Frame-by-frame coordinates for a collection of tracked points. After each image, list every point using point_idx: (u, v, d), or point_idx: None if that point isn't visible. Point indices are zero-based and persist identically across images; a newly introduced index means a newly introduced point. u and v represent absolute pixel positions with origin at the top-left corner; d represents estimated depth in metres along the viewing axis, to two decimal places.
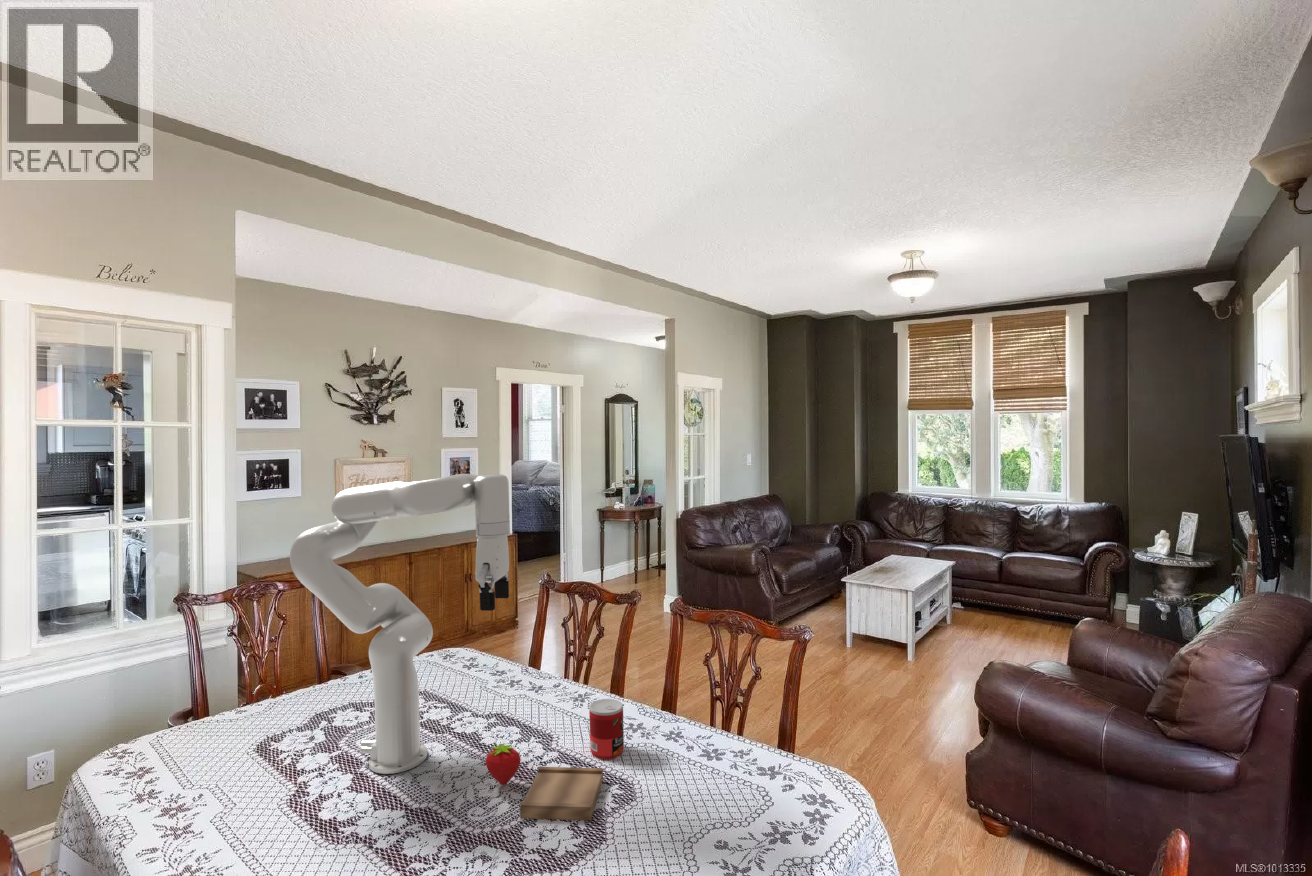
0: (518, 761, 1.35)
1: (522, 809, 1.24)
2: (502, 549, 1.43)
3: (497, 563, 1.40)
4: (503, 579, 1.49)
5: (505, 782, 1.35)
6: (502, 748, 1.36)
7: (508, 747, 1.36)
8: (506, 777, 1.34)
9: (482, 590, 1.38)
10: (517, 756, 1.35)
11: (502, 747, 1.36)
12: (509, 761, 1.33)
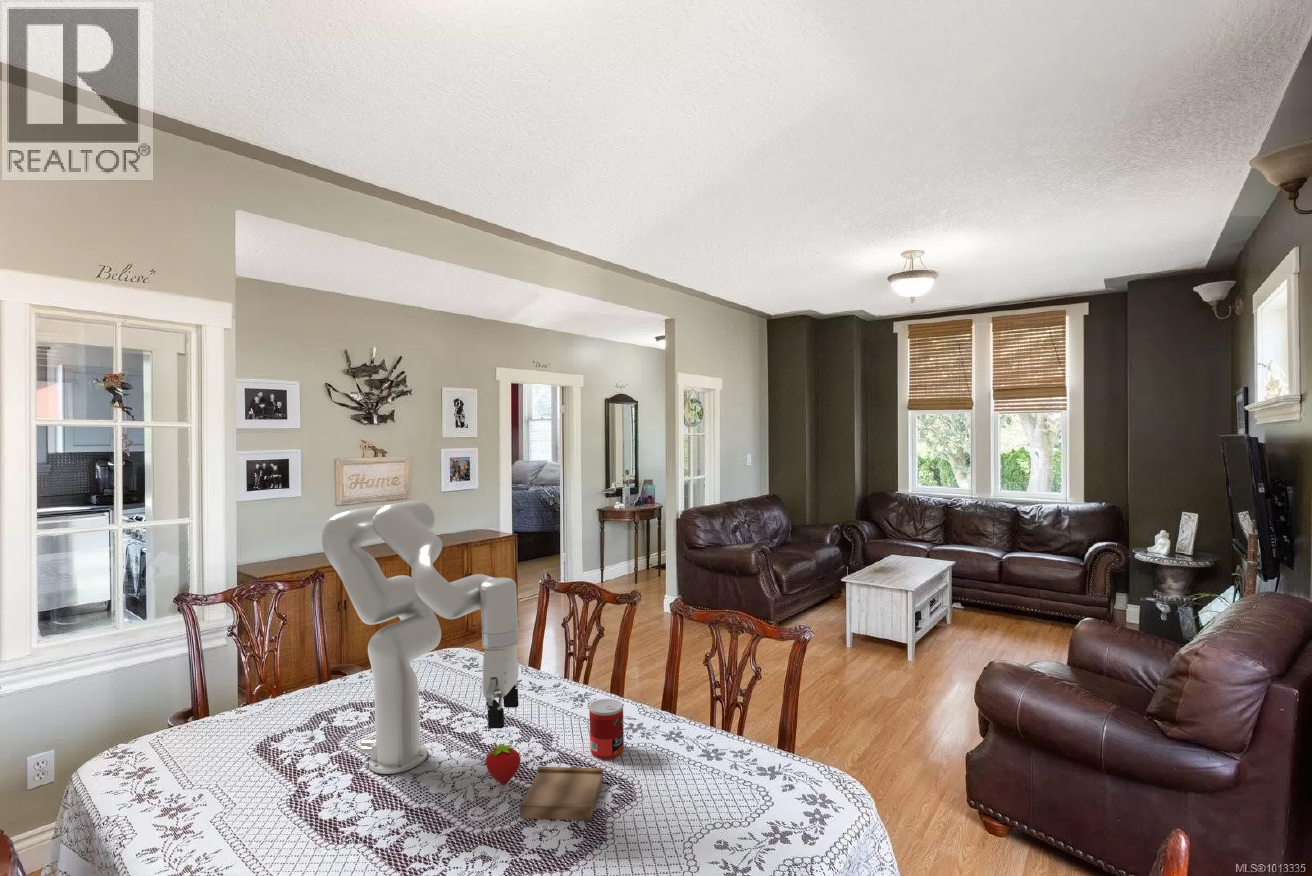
0: (518, 761, 1.35)
1: (522, 809, 1.24)
2: (510, 659, 1.34)
3: (506, 677, 1.31)
4: (512, 687, 1.40)
5: (505, 782, 1.35)
6: (502, 748, 1.36)
7: (508, 747, 1.36)
8: (506, 777, 1.34)
9: (490, 708, 1.29)
10: (517, 756, 1.35)
11: (502, 747, 1.36)
12: (509, 761, 1.33)
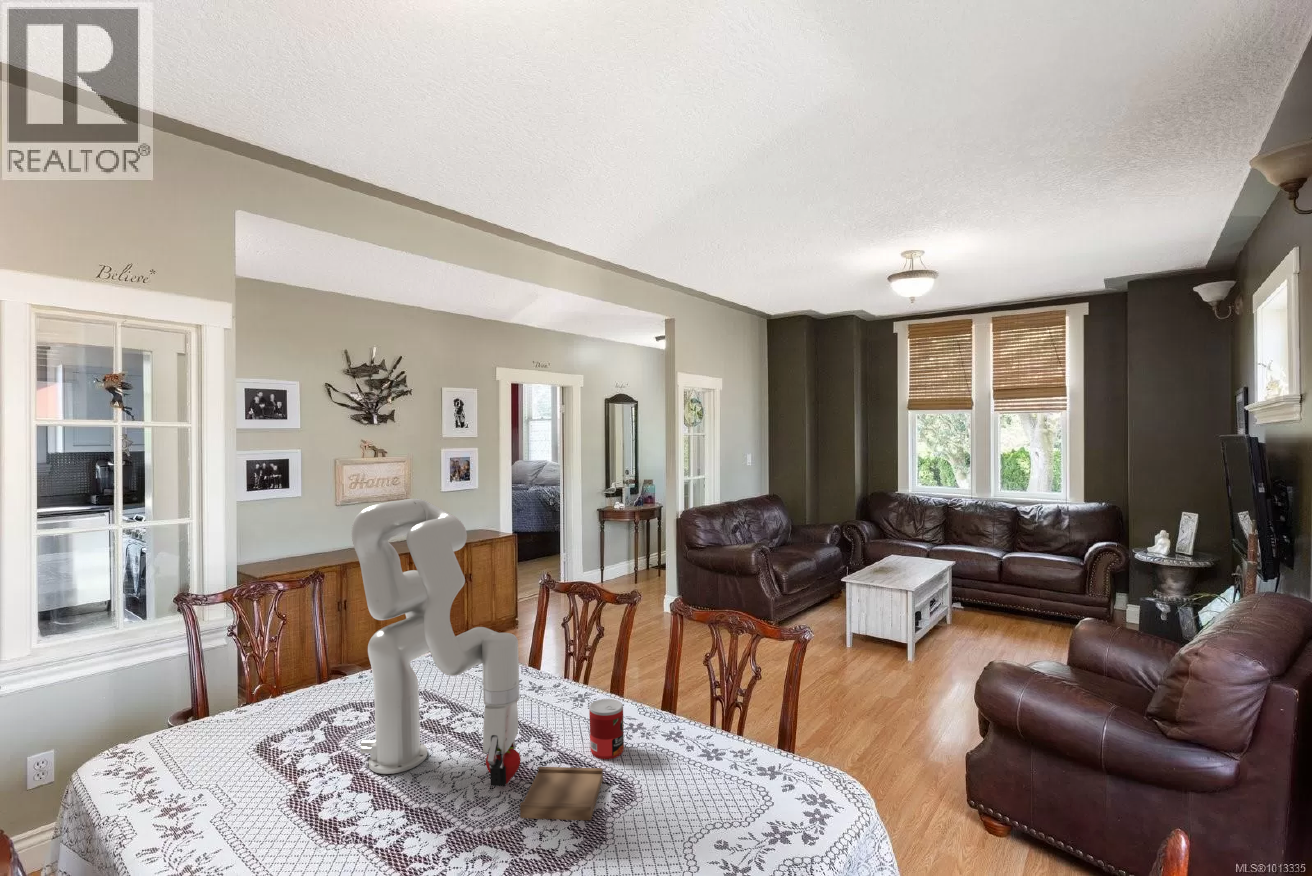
0: (518, 761, 1.35)
1: (522, 809, 1.24)
2: (511, 716, 1.34)
3: (506, 734, 1.32)
4: None
5: None
6: None
7: None
8: (506, 777, 1.34)
9: (493, 767, 1.31)
10: (517, 756, 1.35)
11: None
12: (509, 761, 1.33)
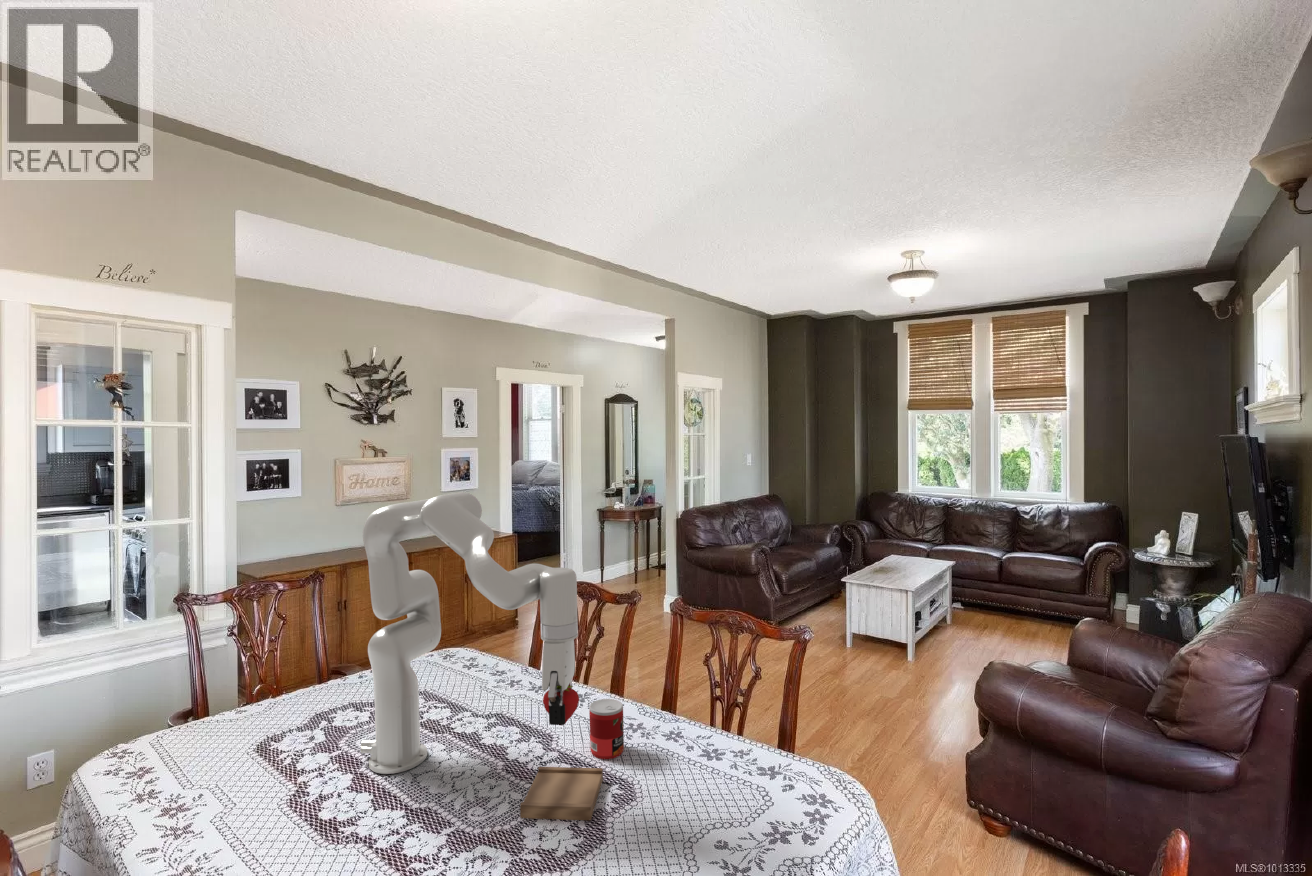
0: (577, 700, 1.29)
1: (522, 809, 1.24)
2: (570, 652, 1.29)
3: (566, 671, 1.26)
4: None
5: None
6: (560, 687, 1.31)
7: None
8: (565, 716, 1.29)
9: (552, 704, 1.25)
10: (576, 695, 1.30)
11: (560, 686, 1.31)
12: (568, 699, 1.28)
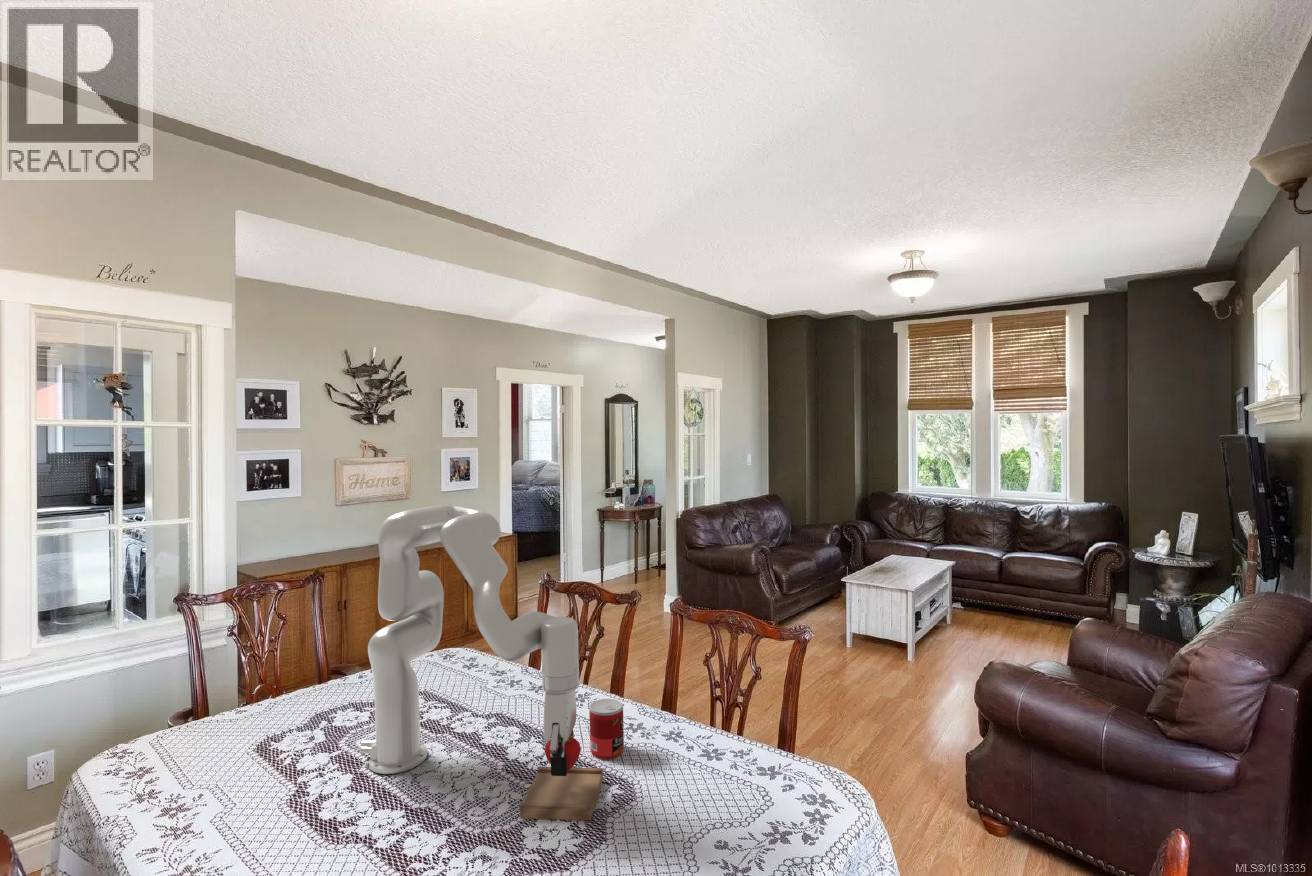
0: (579, 750, 1.30)
1: (522, 809, 1.24)
2: (571, 703, 1.29)
3: (568, 722, 1.27)
4: None
5: None
6: None
7: None
8: None
9: (554, 756, 1.26)
10: (578, 745, 1.30)
11: None
12: (570, 750, 1.28)
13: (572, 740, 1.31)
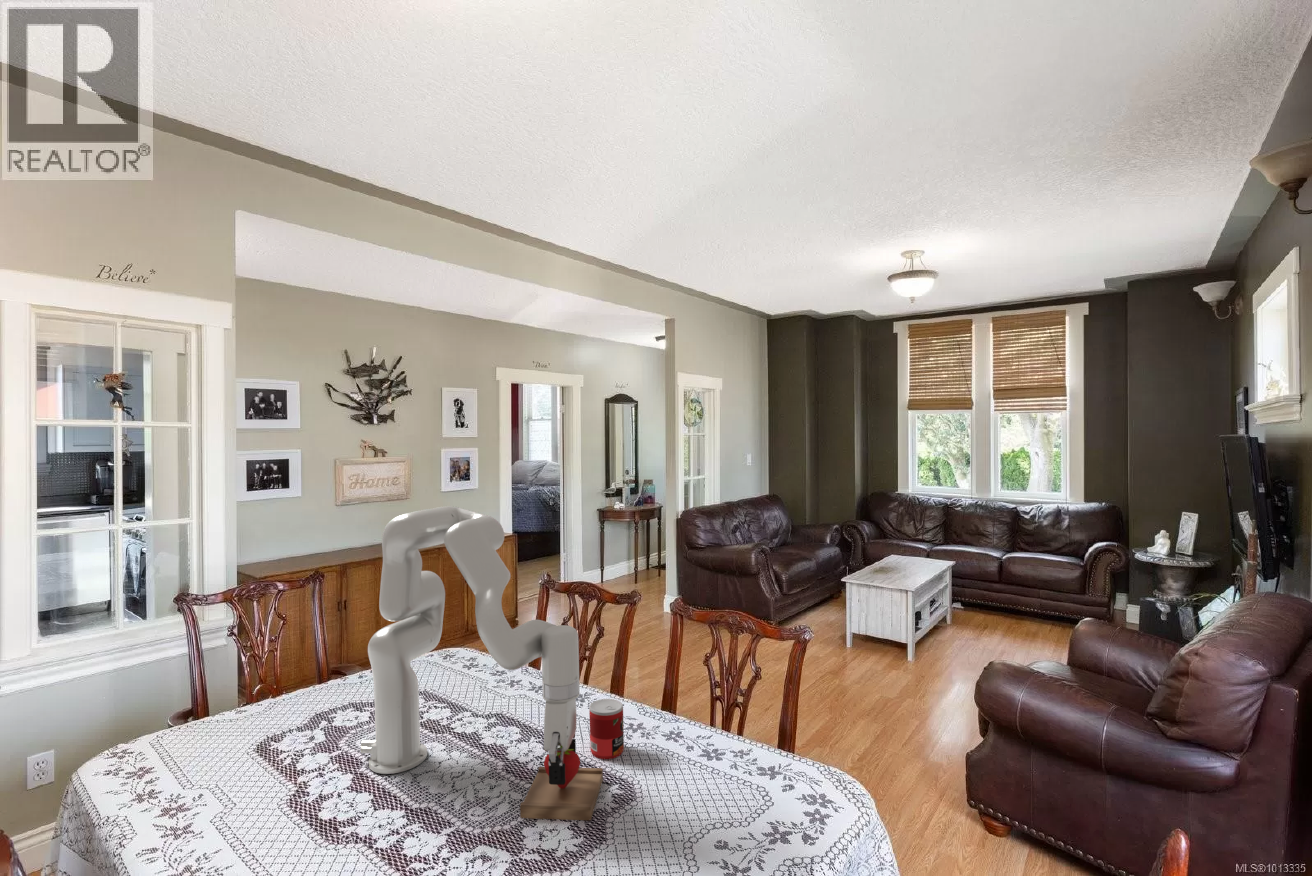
0: (578, 763, 1.30)
1: (522, 809, 1.24)
2: (572, 712, 1.29)
3: (568, 731, 1.27)
4: None
5: (564, 785, 1.30)
6: None
7: None
8: (566, 780, 1.29)
9: (552, 764, 1.24)
10: (577, 758, 1.30)
11: None
12: (569, 763, 1.28)
13: (571, 753, 1.31)
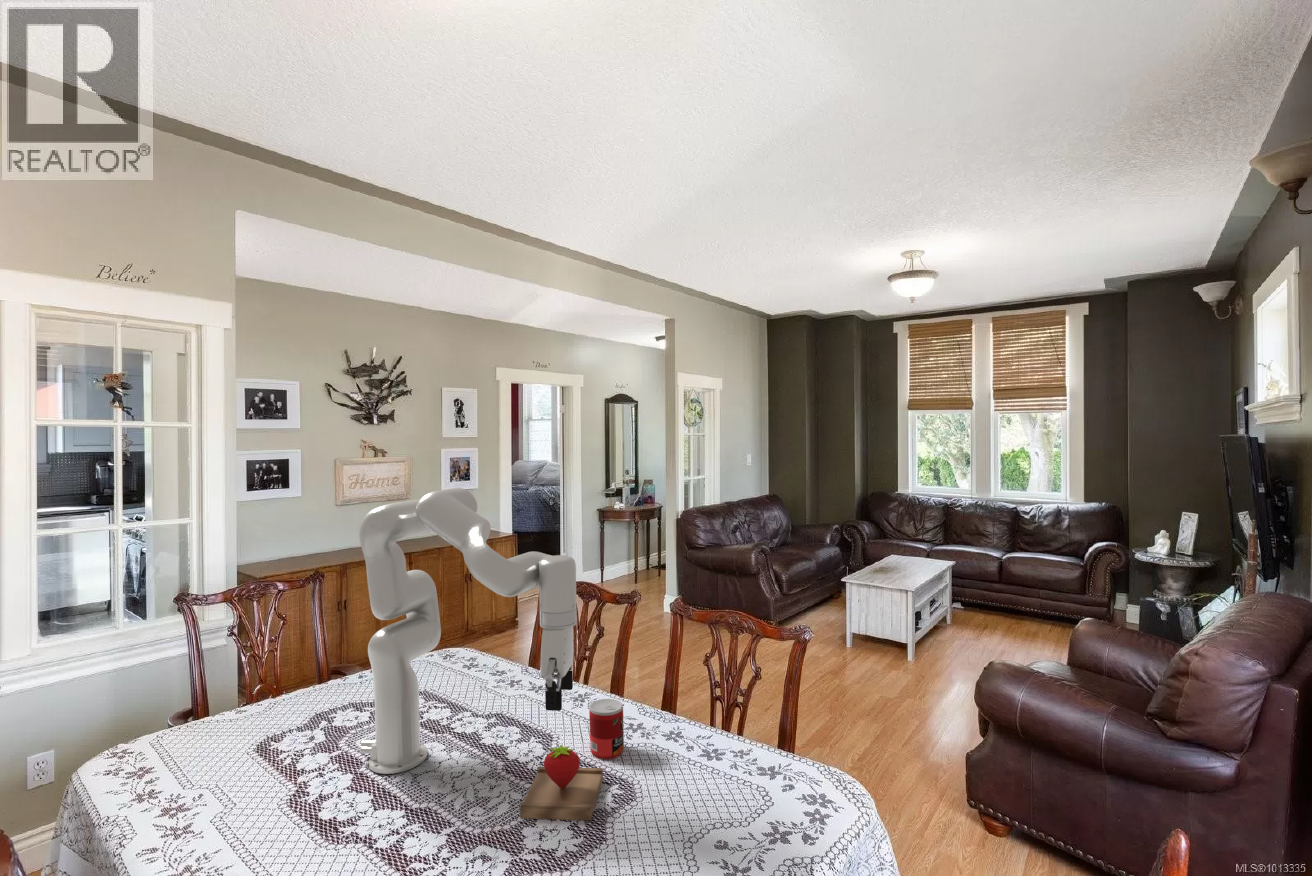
0: (578, 763, 1.30)
1: (522, 809, 1.24)
2: (569, 640, 1.29)
3: (565, 657, 1.27)
4: (567, 669, 1.36)
5: (564, 785, 1.30)
6: (561, 750, 1.31)
7: (567, 749, 1.31)
8: (566, 780, 1.29)
9: (549, 689, 1.24)
10: (577, 758, 1.30)
11: (561, 749, 1.31)
12: (569, 763, 1.28)
13: (571, 753, 1.31)
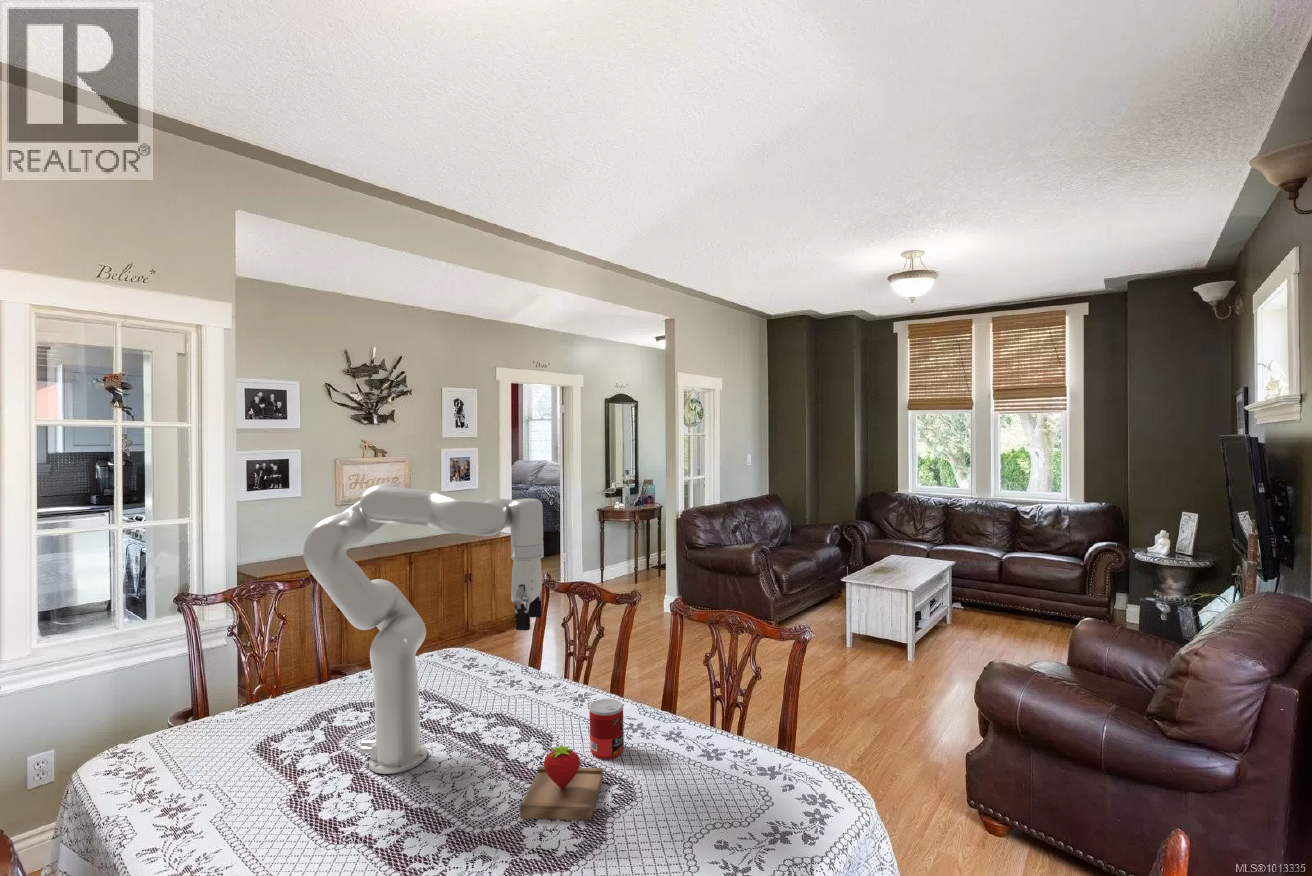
0: (578, 763, 1.30)
1: (522, 809, 1.24)
2: (536, 570, 1.48)
3: (532, 585, 1.46)
4: (536, 599, 1.55)
5: (564, 785, 1.30)
6: (561, 750, 1.31)
7: (567, 749, 1.31)
8: (566, 780, 1.29)
9: (518, 611, 1.44)
10: (577, 758, 1.30)
11: (561, 749, 1.31)
12: (569, 763, 1.28)
13: (571, 753, 1.31)
